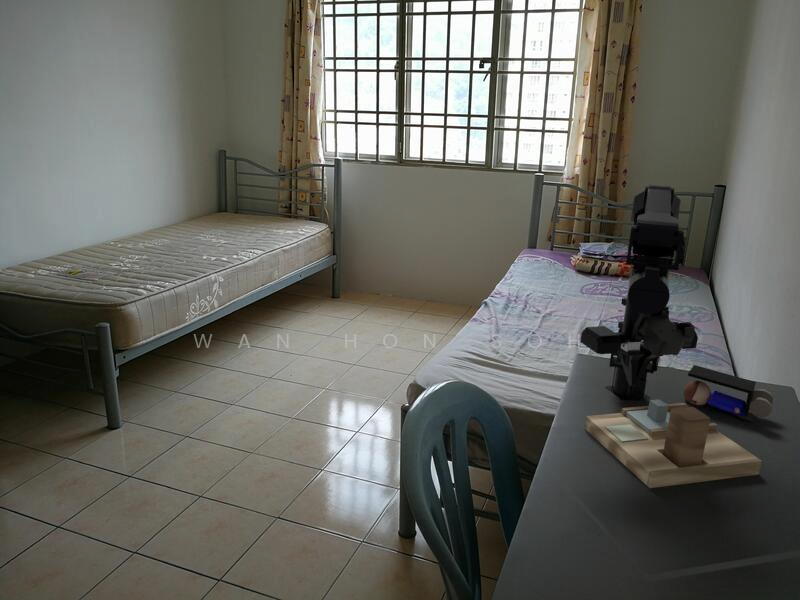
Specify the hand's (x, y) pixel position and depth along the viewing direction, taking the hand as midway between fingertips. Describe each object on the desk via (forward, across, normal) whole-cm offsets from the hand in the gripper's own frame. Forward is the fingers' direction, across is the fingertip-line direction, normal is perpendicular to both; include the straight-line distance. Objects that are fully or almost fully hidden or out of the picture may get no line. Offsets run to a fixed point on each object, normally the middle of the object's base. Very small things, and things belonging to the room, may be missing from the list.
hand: (631, 384), depth 109 cm
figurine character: (+11, +27, +7) cm, 30 cm away
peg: (+10, +3, -11) cm, 15 cm away
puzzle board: (+11, +5, -5) cm, 13 cm away
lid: (+8, +6, 0) cm, 10 cm away
